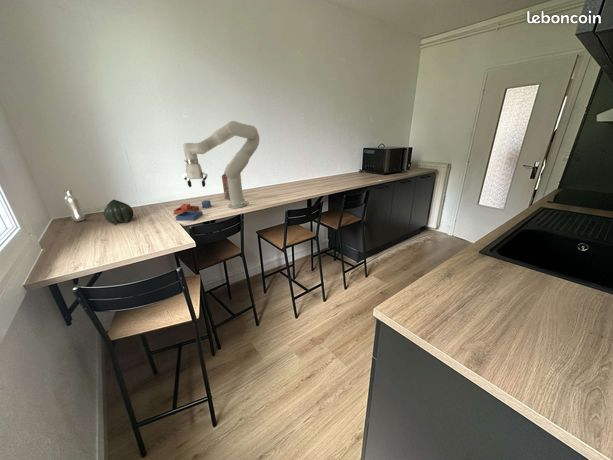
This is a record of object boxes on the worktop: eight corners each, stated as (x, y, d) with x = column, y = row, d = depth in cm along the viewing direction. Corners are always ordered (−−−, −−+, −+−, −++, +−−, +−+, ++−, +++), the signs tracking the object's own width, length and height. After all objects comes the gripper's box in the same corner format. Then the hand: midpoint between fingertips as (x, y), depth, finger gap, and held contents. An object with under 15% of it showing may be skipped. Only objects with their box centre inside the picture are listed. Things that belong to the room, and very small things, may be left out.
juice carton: (231, 196, 213) (227, 170, 205) (236, 197, 210) (233, 171, 201) (224, 198, 208) (220, 171, 200) (230, 199, 205) (226, 172, 196)
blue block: (211, 206, 189) (210, 200, 187) (208, 207, 185) (207, 202, 183) (205, 206, 190) (204, 200, 188) (202, 207, 186) (201, 201, 184)
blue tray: (202, 214, 171) (202, 211, 170) (193, 220, 160) (193, 217, 159) (186, 214, 172) (185, 210, 171) (176, 220, 162) (175, 216, 161)
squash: (123, 218, 150) (125, 195, 155) (96, 220, 148) (99, 198, 153) (136, 226, 164) (138, 205, 168) (112, 228, 162) (114, 207, 166)
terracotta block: (191, 209, 179) (190, 203, 178) (187, 212, 175) (186, 205, 174) (185, 209, 180) (184, 203, 178) (181, 211, 176) (180, 205, 174)
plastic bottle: (89, 219, 165) (77, 189, 157) (77, 223, 159) (65, 192, 151) (82, 218, 167) (71, 189, 159) (70, 222, 161) (58, 191, 153)
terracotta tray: (199, 209, 182) (198, 206, 181) (190, 214, 172) (189, 210, 171) (183, 208, 184) (182, 205, 183) (174, 213, 174) (173, 210, 173)
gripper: (177, 163, 168) (182, 188, 175) (202, 162, 168) (207, 187, 175) (182, 161, 175) (187, 185, 182) (206, 161, 175) (211, 185, 182)
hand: (197, 186), depth 178 cm, fingers open, 9 cm apart
